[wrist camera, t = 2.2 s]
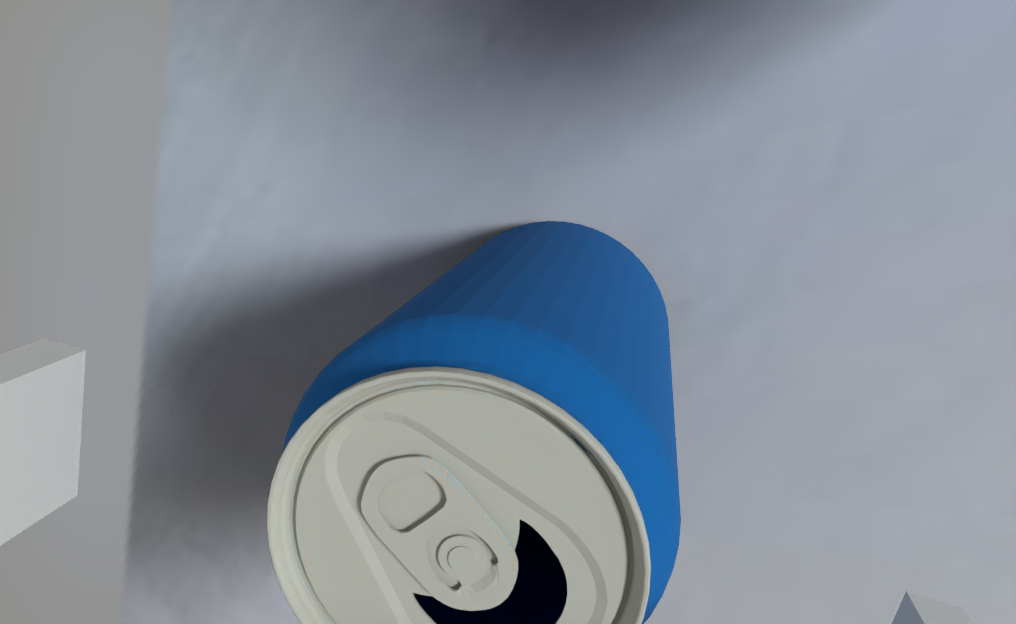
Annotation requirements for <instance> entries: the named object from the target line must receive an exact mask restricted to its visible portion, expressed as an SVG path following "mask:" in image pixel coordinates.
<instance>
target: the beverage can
mask: <svg viewBox="0 0 1016 624" xmlns="http://www.w3.org/2000/svg"><path fill="white" fill-rule="evenodd" d="M680 523H681V517H680V501H679V485H678V469H677V453H676V437H675V422H674V406H673V390H672V374H671V358H670V342H669V327H668V317H667V312H666V308H665V304H664V301H663V298H662V295H661V293H660V290H659V288H658V286H657V284H656V282H655V281H654V279H653V277H652V275H651V274H650V273H649V271H648V270H647V268H646V267H645V266H644V264H643V263H642V262H641V261H640V260H639V259H638V258H637V257H636V256H635V255H634V254H633V253H632V252H631V251H630V250H629V249H627V248H626V247H625V246H624V245H623V244H621V243H620V242H618V241H617V240H615V239H613V238H612V237H610V236H608V235H606V234H604V233H602V232H600V231H598V230H595V229H593V228H590V227H586V226H583V225H580V224H574V223H568V222H556V221H546V222H536V223H530V224H526V225H522V226H518V227H515V228H513V229H510V230H508V231H505V232H503V233H501V234H500V235H498V236H496V237H494V238H492V239H491V240H490V241H488V242H487V243H486V244H484V245H483V246H482V247H480V248H479V249H478V250H476V251H475V252H474V253H472V254H471V255H470V256H468V257H467V258H466V259H464V260H463V261H462V262H460V263H459V264H458V265H456V266H455V267H454V268H452V269H451V270H450V271H448V272H447V273H446V274H444V275H443V276H442V277H440V278H439V279H438V280H436V281H435V282H434V283H433V284H431V285H430V286H429V287H427V288H426V289H425V290H423V291H422V292H421V293H419V294H418V295H417V296H415V297H414V298H413V299H411V300H410V301H409V302H407V303H406V304H405V305H403V306H402V307H401V308H399V309H398V310H397V311H395V312H394V313H393V314H391V315H390V316H389V317H388V318H386V319H385V320H384V321H382V322H381V323H380V324H378V325H377V326H376V327H374V328H373V329H372V330H370V331H369V332H368V333H366V334H365V335H364V336H362V337H361V338H360V339H358V340H357V341H356V342H354V343H353V344H352V345H350V346H349V347H348V348H346V349H345V350H344V351H343V352H341V353H340V354H339V355H337V356H336V357H335V358H334V359H333V360H332V361H331V362H330V363H329V364H328V365H327V366H326V367H325V368H324V369H323V370H322V371H321V372H320V373H319V375H318V376H317V377H316V379H315V380H314V382H313V383H312V384H311V386H310V387H309V388H308V390H307V391H306V393H305V395H304V397H303V399H302V400H301V402H300V404H299V406H298V408H297V410H296V412H295V414H294V416H293V419H292V422H291V424H290V427H289V430H288V433H287V436H286V440H285V445H284V450H283V454H282V456H281V458H280V459H279V461H278V464H277V467H276V470H275V473H274V476H273V479H272V482H271V487H270V492H269V497H268V503H267V534H268V545H269V550H270V554H271V559H272V563H273V568H274V570H275V573H276V576H277V579H278V582H279V584H280V587H281V590H282V592H283V594H284V596H285V598H286V600H287V602H288V604H289V606H290V608H291V609H292V611H293V613H294V614H295V616H296V617H297V619H298V620H299V622H300V623H301V624H644V623H645V621H646V620H647V619H648V618H649V617H650V615H651V614H652V612H653V610H654V609H655V607H656V605H657V604H658V602H659V600H660V599H661V597H662V595H663V593H664V590H665V588H666V586H667V583H668V581H669V578H670V576H671V573H672V571H673V568H674V564H675V559H676V555H677V551H678V547H679V536H680Z"/></svg>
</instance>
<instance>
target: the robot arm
mask: <svg viewBox="0 0 1016 624" xmlns="http://www.w3.org/2000/svg"><path fill="white" fill-rule="evenodd" d="M85 355H86V350H84V349H81V348H77V347H74V346H71V345H67V344H63V343H60V342H57V341H53V340H50V339H47V338H43V339H40V340H37V341H34V342H31V343H29V344H26V345H23V346H20V347H17V348H15V349H11V350H9V351H6V352H3V353H1V354H0V546H1V545H2V544H4V543H5V542H7V541H9V540H10V539H12V538H13V537H15V536H16V535H18V534H19V533H21V532H22V531H24V530H25V529H27V528H29V527H30V526H32V525H33V524H35V523H36V522H38V521H39V520H41V519H42V518H44V517H45V516H47V515H48V514H50V513H52V512H53V511H55V510H56V509H58V508H59V507H61V506H62V505H64V504H65V503H67V502H68V501H70V500H71V499H73V498H75V497H76V496H78V481H79V464H80V446H81V427H82V410H83V392H84V373H85ZM892 624H972V622H971V621H970V619H969V618H968V616H967V615H966V613H965V612H964V610H963V609H962V607H958V606H955V605H951V604H948V603H945V602H941V601H938V600H934V599H931V598H928V597H924V596H921V595H917V594H914V593H911V592H907V591H906V593H905V595H904V598H903V600H902V602H901V604H900V607H899V609H898V611H897V613H896V616H895V618H894V620H893V622H892Z"/></svg>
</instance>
